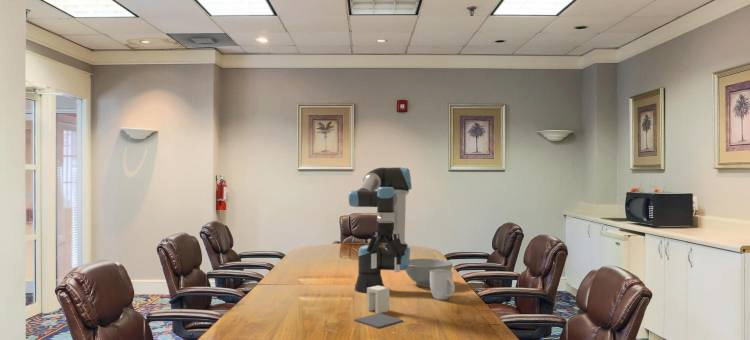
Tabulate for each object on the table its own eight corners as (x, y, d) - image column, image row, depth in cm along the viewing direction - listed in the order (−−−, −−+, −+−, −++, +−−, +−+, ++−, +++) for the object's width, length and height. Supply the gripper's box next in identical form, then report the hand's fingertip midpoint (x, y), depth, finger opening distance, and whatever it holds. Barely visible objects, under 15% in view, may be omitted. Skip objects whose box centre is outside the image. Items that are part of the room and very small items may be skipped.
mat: (354, 320, 209) (354, 319, 209) (379, 314, 218) (379, 313, 218) (377, 328, 199) (377, 326, 199) (402, 321, 208) (403, 320, 208)
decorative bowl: (394, 281, 286) (394, 260, 286) (436, 278, 297) (436, 257, 297) (417, 291, 261) (417, 268, 262) (462, 287, 272) (462, 264, 272)
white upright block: (366, 310, 225) (366, 287, 225) (378, 307, 230) (378, 285, 230) (377, 313, 220) (377, 290, 220) (389, 310, 225) (389, 287, 225)
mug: (462, 300, 243) (462, 273, 243) (445, 303, 237) (445, 275, 237) (442, 294, 256) (442, 268, 256) (424, 297, 250) (424, 270, 250)
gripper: (359, 220, 232) (359, 267, 232) (402, 224, 215) (401, 274, 215) (370, 219, 237) (370, 265, 237) (413, 223, 221) (412, 272, 220)
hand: (385, 270), depth 226 cm, fingers open, 13 cm apart
